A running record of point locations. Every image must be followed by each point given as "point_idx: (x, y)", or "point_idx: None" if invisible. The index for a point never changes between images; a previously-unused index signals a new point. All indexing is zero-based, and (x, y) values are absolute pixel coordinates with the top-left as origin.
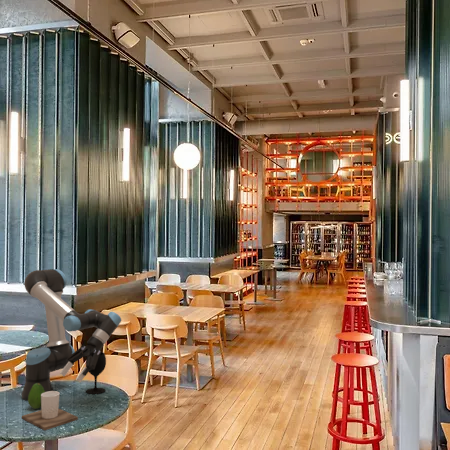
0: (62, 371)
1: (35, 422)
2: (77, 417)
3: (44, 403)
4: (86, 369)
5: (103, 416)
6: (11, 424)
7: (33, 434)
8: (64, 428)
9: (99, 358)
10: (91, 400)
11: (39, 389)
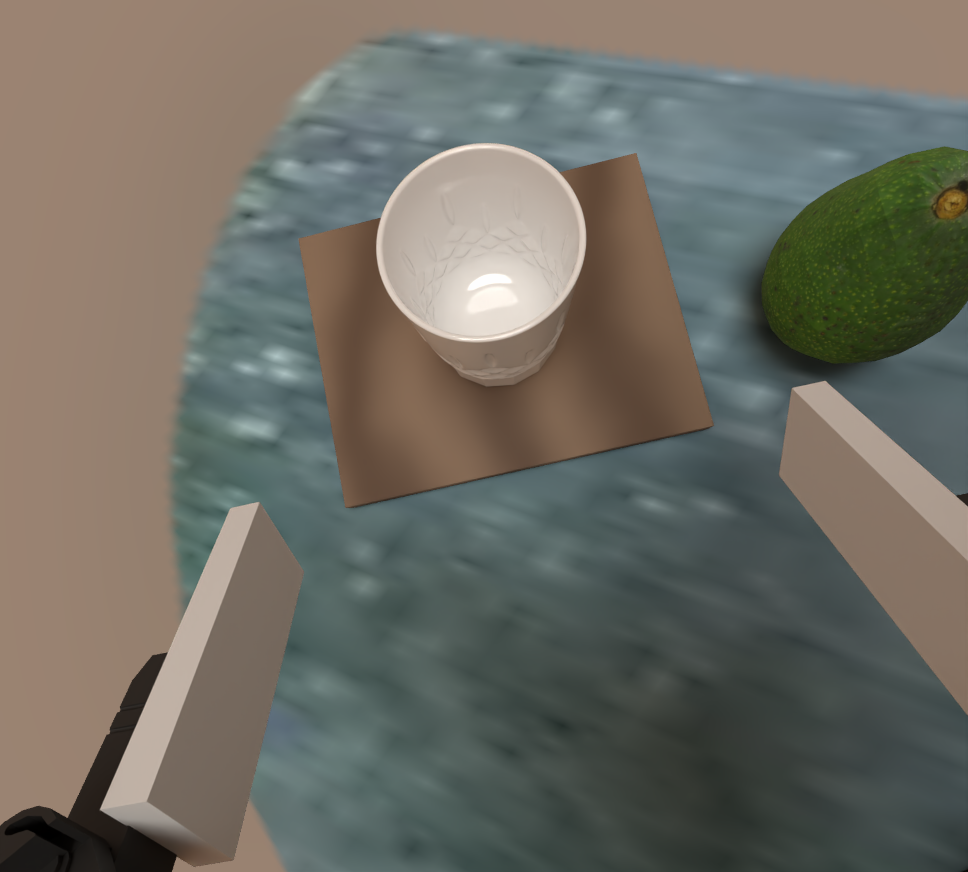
0: (820, 422)
1: None
2: (346, 503)
3: (437, 207)
4: (100, 787)
5: (290, 709)
6: (554, 88)
7: (290, 174)
8: (257, 369)
9: None
10: (745, 806)
11: (851, 228)
